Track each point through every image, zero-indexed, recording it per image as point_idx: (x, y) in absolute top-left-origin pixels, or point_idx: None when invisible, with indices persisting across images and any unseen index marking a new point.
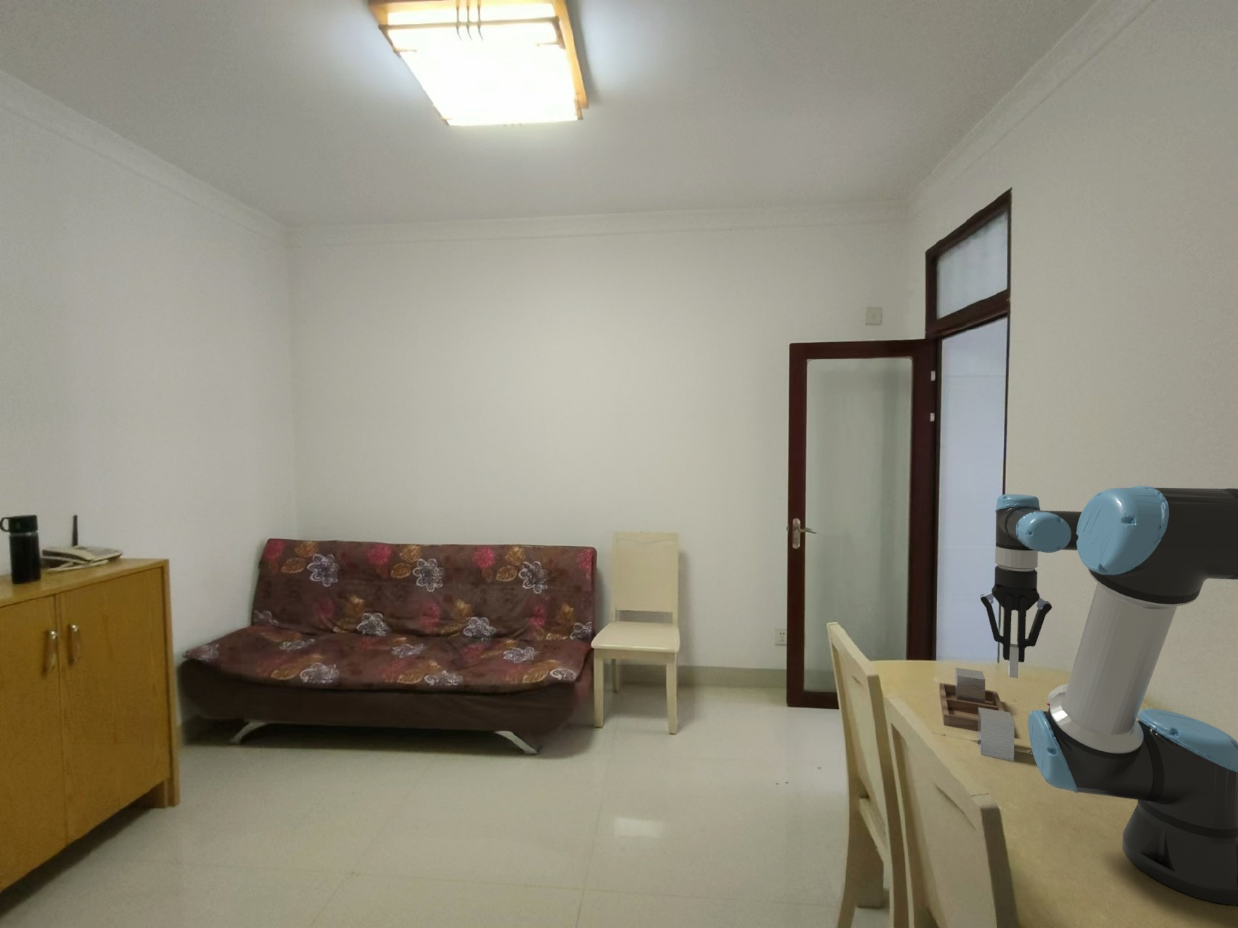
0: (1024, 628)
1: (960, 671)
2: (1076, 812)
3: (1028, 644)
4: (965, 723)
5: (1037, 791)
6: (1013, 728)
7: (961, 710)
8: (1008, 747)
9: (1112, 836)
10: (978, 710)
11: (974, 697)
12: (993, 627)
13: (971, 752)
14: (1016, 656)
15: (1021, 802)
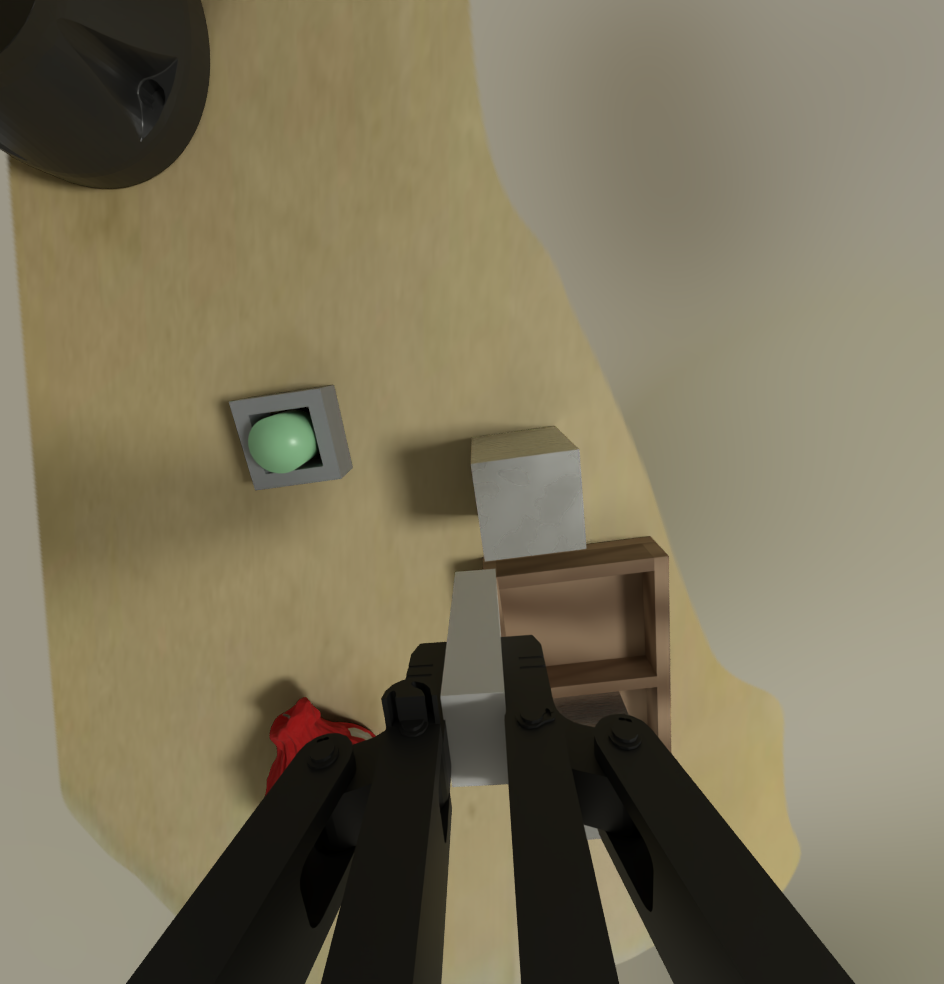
0: (348, 931)
1: None
2: (320, 204)
3: (359, 756)
4: (600, 556)
5: (413, 275)
6: (473, 458)
7: (605, 661)
8: (486, 442)
9: (236, 110)
10: (583, 533)
11: (578, 717)
12: (723, 862)
13: (578, 425)
14: (458, 648)
15: (451, 167)
